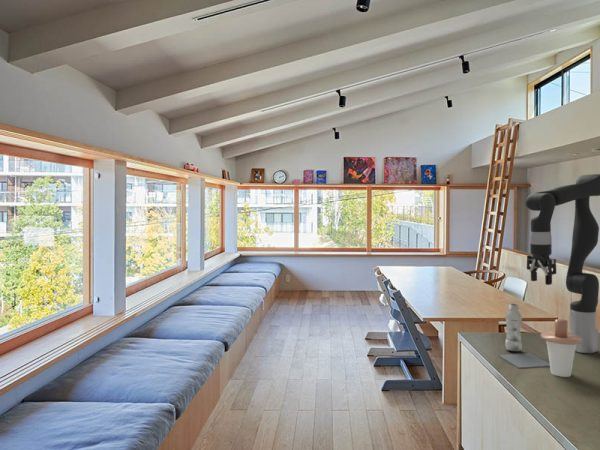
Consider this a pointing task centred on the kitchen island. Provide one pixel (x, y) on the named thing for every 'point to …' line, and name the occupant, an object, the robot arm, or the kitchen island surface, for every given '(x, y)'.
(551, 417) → the kitchen island surface
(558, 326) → the lid
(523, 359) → the mat
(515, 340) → the plastic bottle
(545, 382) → the kitchen island surface
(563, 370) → the foam cup
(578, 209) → the robot arm
